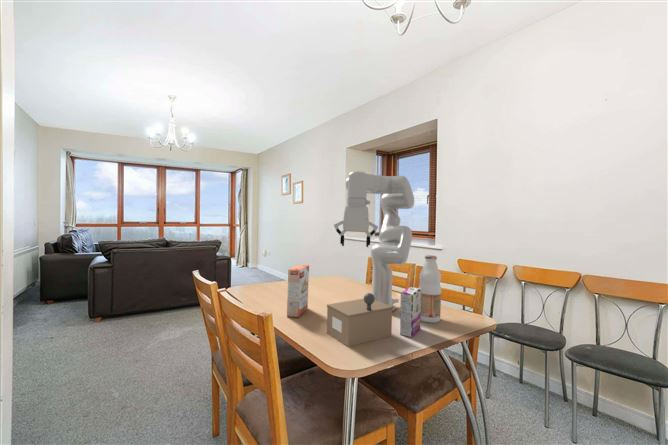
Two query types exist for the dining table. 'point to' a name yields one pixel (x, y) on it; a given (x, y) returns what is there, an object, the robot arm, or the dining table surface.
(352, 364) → the dining table surface
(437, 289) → the fruit juice
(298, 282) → the cracker box
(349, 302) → the carton lid
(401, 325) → the candy bar box
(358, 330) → the carton
